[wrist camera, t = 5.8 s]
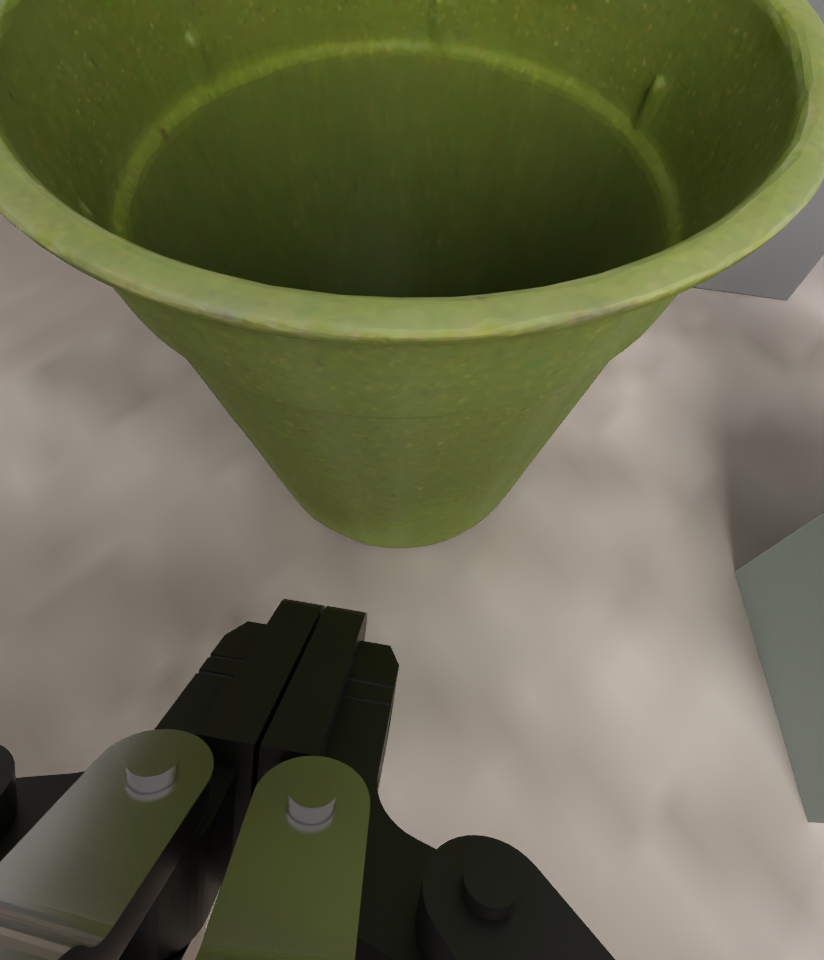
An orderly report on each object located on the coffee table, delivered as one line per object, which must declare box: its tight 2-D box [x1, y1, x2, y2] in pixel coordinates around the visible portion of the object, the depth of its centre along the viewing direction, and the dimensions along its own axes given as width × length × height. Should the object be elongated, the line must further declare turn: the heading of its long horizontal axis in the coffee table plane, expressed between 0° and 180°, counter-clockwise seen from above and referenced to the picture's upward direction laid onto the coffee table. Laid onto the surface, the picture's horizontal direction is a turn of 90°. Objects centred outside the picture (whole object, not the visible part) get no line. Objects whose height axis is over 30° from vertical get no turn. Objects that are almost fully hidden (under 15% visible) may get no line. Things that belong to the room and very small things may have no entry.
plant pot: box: [0, 0, 824, 548], centre depth 13 cm, size 12×12×11 cm
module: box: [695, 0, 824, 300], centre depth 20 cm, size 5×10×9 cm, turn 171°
